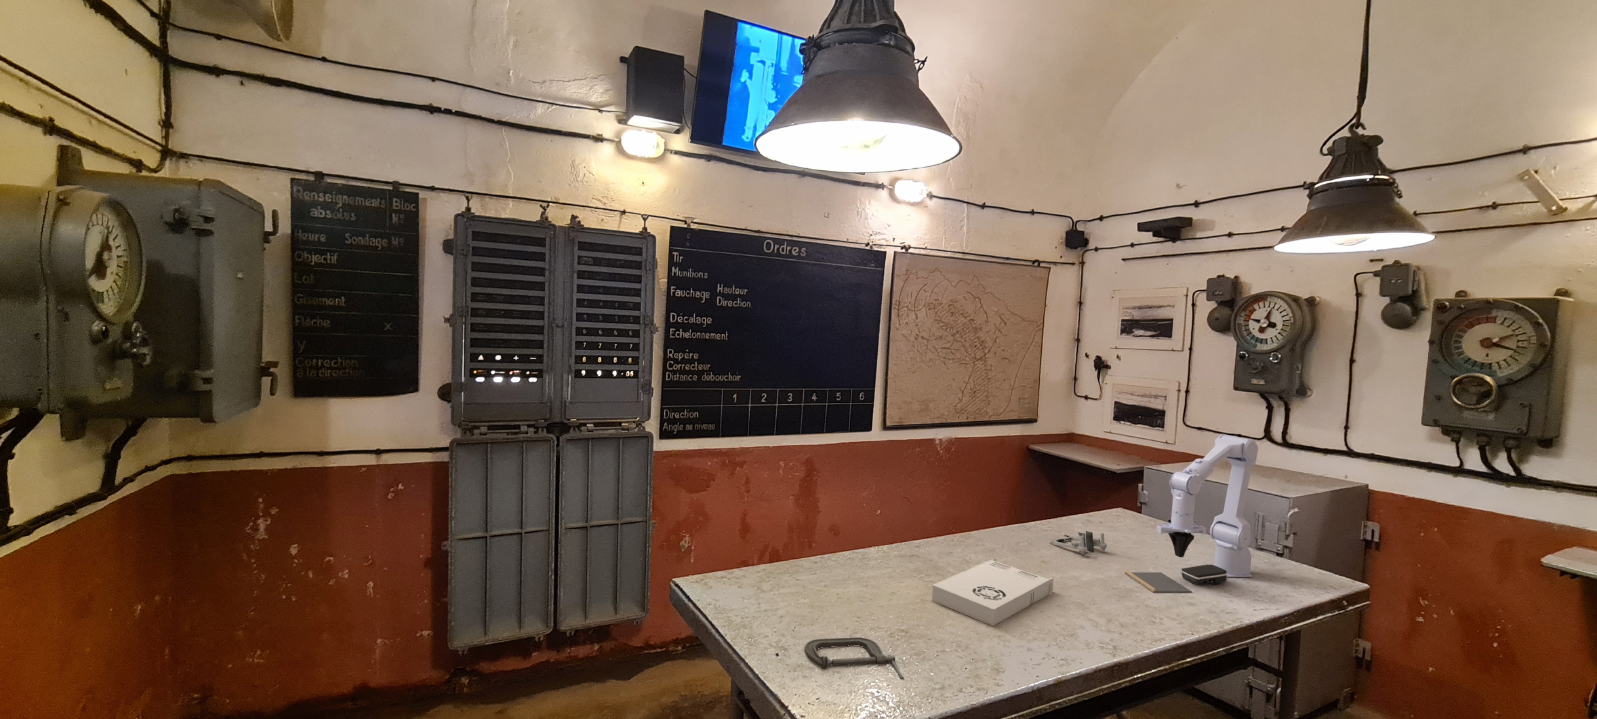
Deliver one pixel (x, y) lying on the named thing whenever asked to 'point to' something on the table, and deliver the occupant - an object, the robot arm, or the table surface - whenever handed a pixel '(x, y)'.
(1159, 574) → the mat
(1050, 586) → the white flat box
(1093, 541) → the bike brake
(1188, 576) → the battery charger
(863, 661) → the c clamp
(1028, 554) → the table surface
